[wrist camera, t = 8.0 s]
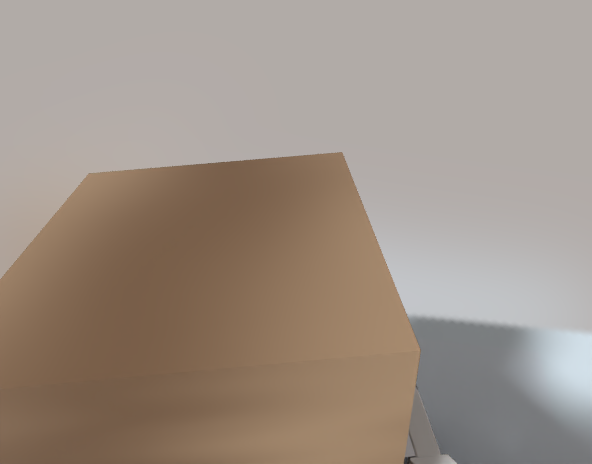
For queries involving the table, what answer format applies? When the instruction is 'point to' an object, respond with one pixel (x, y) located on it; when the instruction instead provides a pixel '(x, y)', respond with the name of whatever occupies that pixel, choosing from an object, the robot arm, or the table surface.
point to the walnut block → (207, 323)
